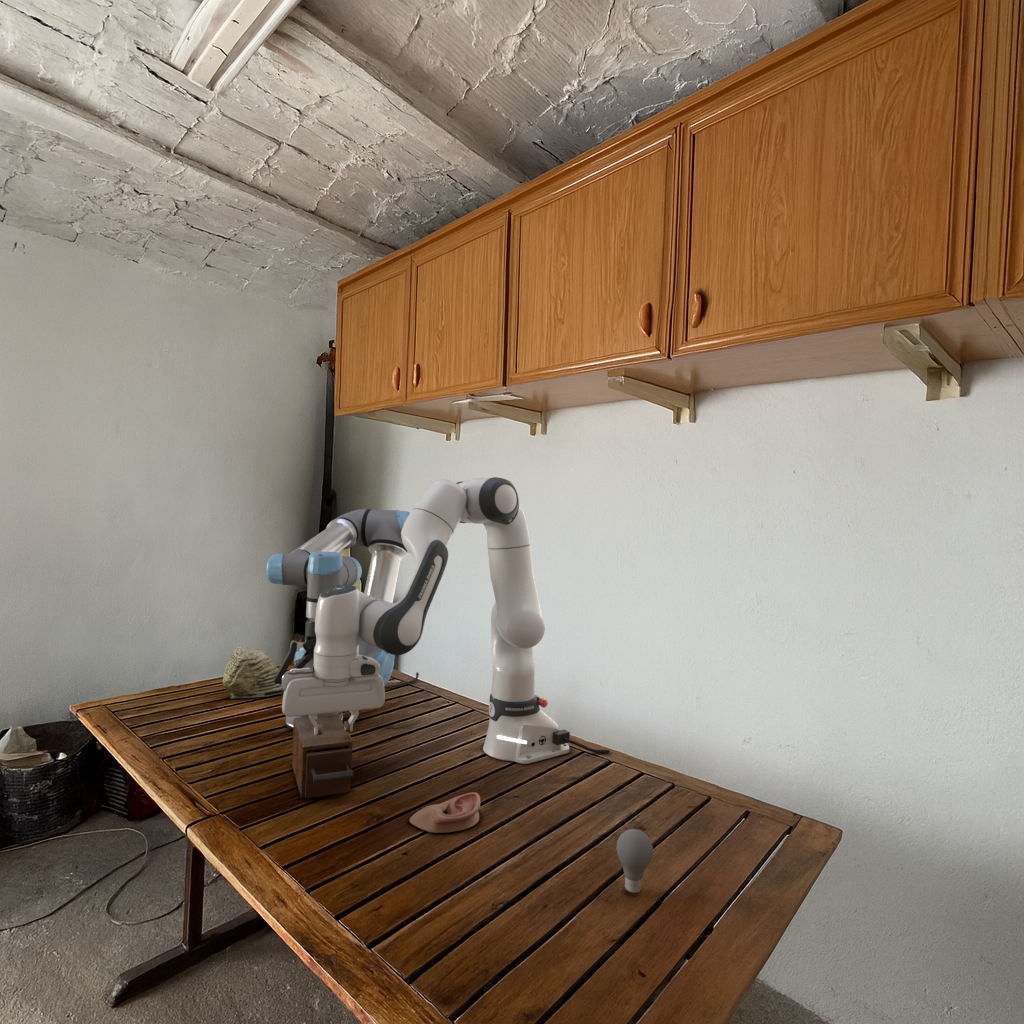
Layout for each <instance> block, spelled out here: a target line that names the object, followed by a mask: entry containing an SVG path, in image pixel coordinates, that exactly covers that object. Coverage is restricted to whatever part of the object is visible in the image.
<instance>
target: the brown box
mask: <svg viewBox="0 0 1024 1024" xmlns="http://www.w3.org/2000/svg"><path fill="white" fill-rule="evenodd" d="M315 721H316V722H317V724H322V726H323V730H322V732H323V734H322V735H316V736H315V735H314V725H313V724H312V722H311V720H310V718H309V717H303V718H294V723H293V730H292V752H291V753H292V754H291V766H292V770H293V774H294V778H295V782H296V785H297V789H298V793H299V796H300V799H306V798H305V783H306V757H307V753H308V751H311V750H319V749H327V748H335V747H344V746H345V749H347V748H351V750H352V751H353V739H352V737H351V735H350V733H349V732H345V731H344V726H345V725H344V721H343V722H342V720H341V719H340V717H339V715H338V714H333V715H323V716H317V719H315ZM352 762H353V752H352V753H351V770H353V767H352V766H353V763H352ZM351 789H352V778H351V779H350V792H351V791H352V790H351Z"/></svg>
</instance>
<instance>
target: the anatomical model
mask: <svg viewBox="0 0 1024 1024" xmlns="http://www.w3.org/2000/svg"><path fill="white" fill-rule="evenodd" d="M480 808H481V796H480V794H479V793H478V792H476V791H475V792H467V793H463V794H460V795H458V796H455V797H452V798H450V799H448V800H445V801H443V802H441V803H435V804H430V805H427V806H424V807H422V808H421V809H419V810H418V811H416V812H415V813H414V814H412V816H411V817H410V818H409V823H410V824H411V825H413V826H414V827H416V828H418V829H420V830H423V831H426V832H428V833H433V834H441V833H452V832H458V831H464V830H467V829H469V828H471V827H474V826H475V825H476V824H478V823H479V820H480V812H479V809H480Z"/></svg>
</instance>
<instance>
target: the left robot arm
mask: <svg viewBox="0 0 1024 1024" xmlns="http://www.w3.org/2000/svg"><path fill="white" fill-rule="evenodd" d="M410 512H411V511H410ZM410 512H409V511H408V510H407V511H406V510H399V509H374V508H373V509H371V508H359V509H355V510H351V511H349V512H346V513H343V514H341V515H339V516H337V517H336V518H334V519H333V520H331V521H330V522H329V523H328V524H327V525H326V527H325V529H324V530H322V531H321V532H319V533H317V534H316V535H314V537H311V538H310V539H309V540H307V541H306V542H305V543H303V544H301V545H300V546H299V547H297V548H296V549H294V550H293V551H291V552H290V553H288V554H287V553H286V554H285V553H273V554H272V555H271V556H270V557H269V558H268V560H267V563H266V567H265V571H266V579H267V580H268V581H269V582H270V583H271V584H275V585H282V586H296V587H297V586H300V587H307V589H306V590H307V591H306V609H305V617H306V618H307V619H306V621H305V632H304V639H303V641H297V640H295V639H292V640H290V642H289V649H288V651H287V652H286V655H285V656H284V658H283V660H282V662H281V664H280V666H279V668H278V671H277V673H276V675H275V676H274V682H275V684H280V685H282V676H283V675H284V674H285V673H286V672H287V671H288V669H289V667H290V665H291V663H292V661H294V665H293V667H292V668H291V669H293V668H297V669H300V668H307V667H313V664H314V648H315V645H316V634H315V617H316V608H317V602H318V599H319V596H320V594H321V593H322V592H323V591H324V590H325V589H327V588H330V587H333V586H338V585H352V586H354V585H355V584H356V583H358V582H359V580H360V579H361V577H362V572H363V571H362V569H363V568H362V566H361V563H360V562H359V560H358V559H356V558H354V557H352V556H342V554H341V553H340V552H342V551H343V550H344V551H345V550H348V549H350V548H353V547H363V548H364V547H365V548H367V550H368V551H369V553H370V555H371V558H370V563H369V567H368V572H367V577H366V583H365V587H364V590H363V591H364V592H363V593H364V594H366V595H368V596H371V597H374V598H376V599H380V600H384V601H387V602H390V603H394V598H395V594H396V593H395V592H396V587H397V586H396V585H397V582H398V576H399V572H400V566H401V561H402V560H404V559H405V558H407V556H408V551H407V550H406V548H405V546H404V544H403V542H402V538H401V531H402V528H403V525H404V523H405V521H406V519H407V517H408V516H409V514H410ZM358 654H359V655H363V656H367V657H371V658H373V659H375V660H376V661H377V662H378V663H379V664H380V667H381V671H380V674H379V675H380V676H381V677H382V679H383V682H384V689H385V690H387V689H391V688H397V687H401V686H405V685H409V684H413V683H415V682H416V681H418V679H419V676H420V674H419V672H416V673H415V678H414V679H412V680H409V681H405V682H401V683H396V684H392V685H387V684H388V683H389V681H390V680H391V679H390V678H391V677H392V674H393V671H394V666H395V657H396V655H392V654H390V653H388V652H386V651H384V650H382V649H380V648H378V647H375V646H372V645H369V644H367V643H362V644H360V645H359V653H358ZM288 674H290V673H288ZM283 694H284V690H283V689H282V693H280V695H281V699H282V700H283ZM343 712H344V711H343ZM343 712H333V713H323V714H318V715H317V716H323V715H333V714H338V715H339V717H340V719H341V720H342V722H343V723H344V714H343ZM303 717H309V715H303V716H293V717H287V716H286V715H285V726H286V728H287V729H289V730H291V731H293V723H294V718H303Z"/></svg>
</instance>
